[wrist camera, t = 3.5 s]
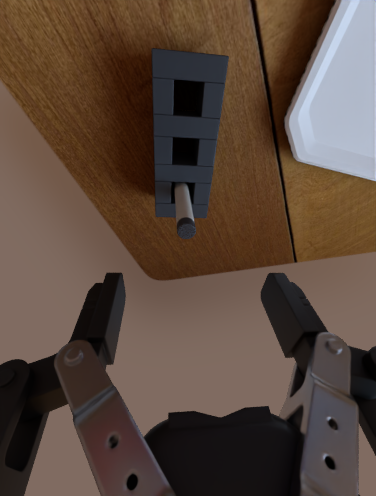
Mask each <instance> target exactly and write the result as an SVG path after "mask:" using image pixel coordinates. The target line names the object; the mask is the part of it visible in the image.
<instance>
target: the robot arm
mask: <svg viewBox="0 0 376 496" xmlns="http://www.w3.org/2000/svg"><path fill="white" fill-rule="evenodd" d="M125 297H126V295H125V287H124V281H123V275H122V273H107V274H106V276H105V279H104V282H103V283H95V284H94V286H93V287H92V288H91V289H90V290H89V291H88V294H87V297H86V299H85V302H84V305H83V309H82V310H81V313H80V315H79V318H78V321H77V323H76V326H75V329H74V332H73V334H72V337H71V339H70V341H69V342H68V344H66V345H65V346H64V347H62V348H61V350H60V351H59V352H58V353H56V354H54V355H52V356H50V357H48V358H44V359H41V360H38V361H36V362H33V363H29V364H27V362H25V361H24V360H20V359H15V360H11V361H7V362H5V363H3V364H1V365H0V496H24V494H25V491H26V487H27V484H28V481H29V477H30V474H31V470H32V467H33V464H34V461H35V457H36V454H37V451H38V448H39V444H40V441H41V438H42V434H43V431H44V428H45V425H46V421H47V418H48V415H49V412H50V411H52V410H55V409H57V408H59V407H62V406H64V405H67V404H69V406H70V409H71V412H72V414H73V422H74V426H75V428H76V431H77V434H78V437H79V439H80V442H81V444H82V447H83V450H84V452H85V455H86V458H87V460H88V463H89V465H90V468H91V471H92V473H93V476H94V478H95V481H96V484H97V487H98V489H99V492H100V494H101V496H360V495H359V494H358V429H359V428H358V427H359V426H358V424H360V426H361V428H362V430H363V432H364V434H365V436H366V438H367V440H368V442H369V444H370V445H371V448H372V449H373V451H374V453H375V455H376V346H375V347H372V348H371V349H370V350H369V351H365V350H361V349H358V348H354V347H350V346H347V344H346V343H345V342H344V341H343V340H342V339H341V338H339V337H338V336H336V335H334V334H332V333H329V332H328V331H327V329H326V327H325V326H324V324H323V323H322V321H321V320H320V318H319V316H318V315H317V313H316V312H315V310H314V309H313V307H312V306H311V305H310V302H309V301H308V299H306V296H305V294H304V293H303V291H302V290H301V289H300V288H299V287H298V286H297V285H296V284H295V283H293V282H290V281H289V280H288V278H287V276H286V275H285V274H284V273H269V274H268V276H267V278H266V281H265V283H264V285H263V288H262V290H261V301H262V303H263V306H264V308H265V310H266V313H267V315H268V318H269V320H270V322H271V325H272V327H273V329H274V332H275V334H276V337H277V339H278V341H279V344H280V346H281V348H282V351H283V353H284V355H285V357H286V358H290V357H291V358H292V357H294V358H295V361H296V363H295V365H294V369H293V373H292V377H291V381H290V385H289V390H288V394H287V398H286V401H285V403H284V405H283V407H282V410H281V412H280V414H279V416H276V415H274V414H271V413H270V410H269V407H268V406H264V407H249V408H243V409H241V410H238V411H236V412H234V413H231V414H229V415H227V416H224V417H215V416H211V415H207V414H203V413H200V412H196V411H187V412H173V413H169V415H168V419H167V420H165V421H163V422H161V423H159V424H157V425H156V426H155V427H153V428H152V429H151V430H150V431H149V432H148V433H147V434H146V435H145V436H144V437H143V436H142V434H141V432H140V430H139V428H138V426H137V425H136V423H135V421H134V419H133V417H132V415H131V414H130V412H129V410H128V408H127V407H126V405H125V403H124V401H123V399H122V397H121V396H120V394H119V392H118V390H117V389H116V387H115V386H114V385H113V384H112V382H111V380H110V378H109V376H108V374H107V373H106V371H105V370H106V365H111V364H113V363H114V358H115V352H116V347H117V342H118V337H119V331H120V327H121V321H122V316H123V311H124V305H125Z"/></svg>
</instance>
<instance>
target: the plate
mask: <svg viewBox="0 0 376 496" xmlns="http://www.w3.org/2000/svg"><path fill="white" fill-rule="evenodd" d="M284 127H285V131H286V134H287V138H288V141H289V145H290V148H291V152H292V155H293V158H294V159H295V160H296V161H298V162H302V163H306V164H310V165H314V166H318V167H322V168H326V169H330V170H334V171H338V172H342V173H346V174H350V175H354V176H358V177H362V178H366V179H370V180H374V181H376V0H335V1H334V3H333V6H332V8H331V10H330V13H329V15H328V17H327V20H326V22H325V24H324V26H323V29H322V31H321V33H320V36H319V38H318V40H317V43H316V45H315V47H314V49H313V52H312V54H311V56H310V59H309V61H308V63H307V66H306V68H305V70H304V72H303V75H302V77H301V79H300V82H299V84H298V86H297V89H296V91H295V93H294V96H293V98H292V100H291V102H290V105H289V107H288V109H287V112H286V114H285V116H284Z"/></svg>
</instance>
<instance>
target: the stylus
mask: <svg viewBox="0 0 376 496" xmlns="http://www.w3.org/2000/svg"><path fill="white" fill-rule="evenodd" d="M174 188H175V204H176V221H177V233H178V235H179V236H180V237H181V238H183V239H189V238H192V237H193V236H194V235H195V233H196V228H195V223H194V217H193V212H192V207H191V201H190V196H189V190H188V185H187V182H174Z"/></svg>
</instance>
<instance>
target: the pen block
mask: <svg viewBox="0 0 376 496" xmlns="http://www.w3.org/2000/svg"><path fill="white" fill-rule="evenodd" d="M228 59H229V56H224V55H214V54H204V53H194V52H185V51H175V50H165V49H155V48H152V77H153V78H152V88H153V129H154V171H155V212H156V217H176V204H175V188H174V185H171V182H190V186H188V190H189V196H190V201H191V207H192V212H193V217H194V218H207V211H208V203H209V196H210V189H211V182H212V174H213V166H214V160H215V152H216V145H217V138H218V131H219V124H220V117H221V110H222V102H223V95H224V88H225V80H226V73H227V66H228ZM174 80H184V81H196V82H197V94H196V107H195V111H193V110H180V109H173V98H174ZM173 137H181V138H193V147H192V152H182V151H172V140H173Z"/></svg>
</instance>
